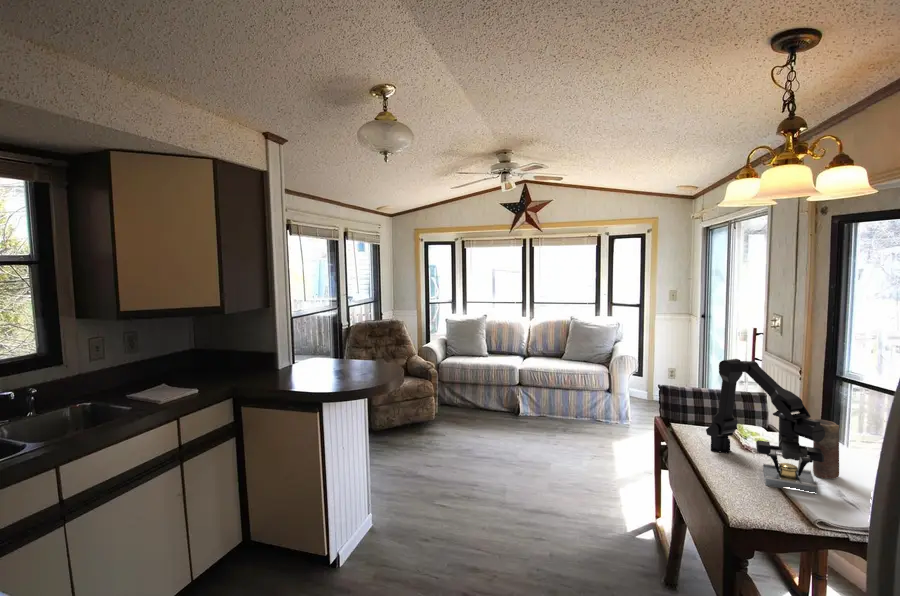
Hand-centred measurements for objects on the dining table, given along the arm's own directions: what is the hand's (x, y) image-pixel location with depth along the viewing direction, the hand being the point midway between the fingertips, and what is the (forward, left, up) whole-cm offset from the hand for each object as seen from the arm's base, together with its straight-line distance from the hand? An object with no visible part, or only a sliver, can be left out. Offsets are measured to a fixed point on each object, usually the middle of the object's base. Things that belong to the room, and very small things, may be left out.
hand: (788, 474), depth 159 cm
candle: (+12, +11, -3) cm, 17 cm away
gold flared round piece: (0, 0, -3) cm, 3 cm away
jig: (0, 0, -3) cm, 3 cm away
